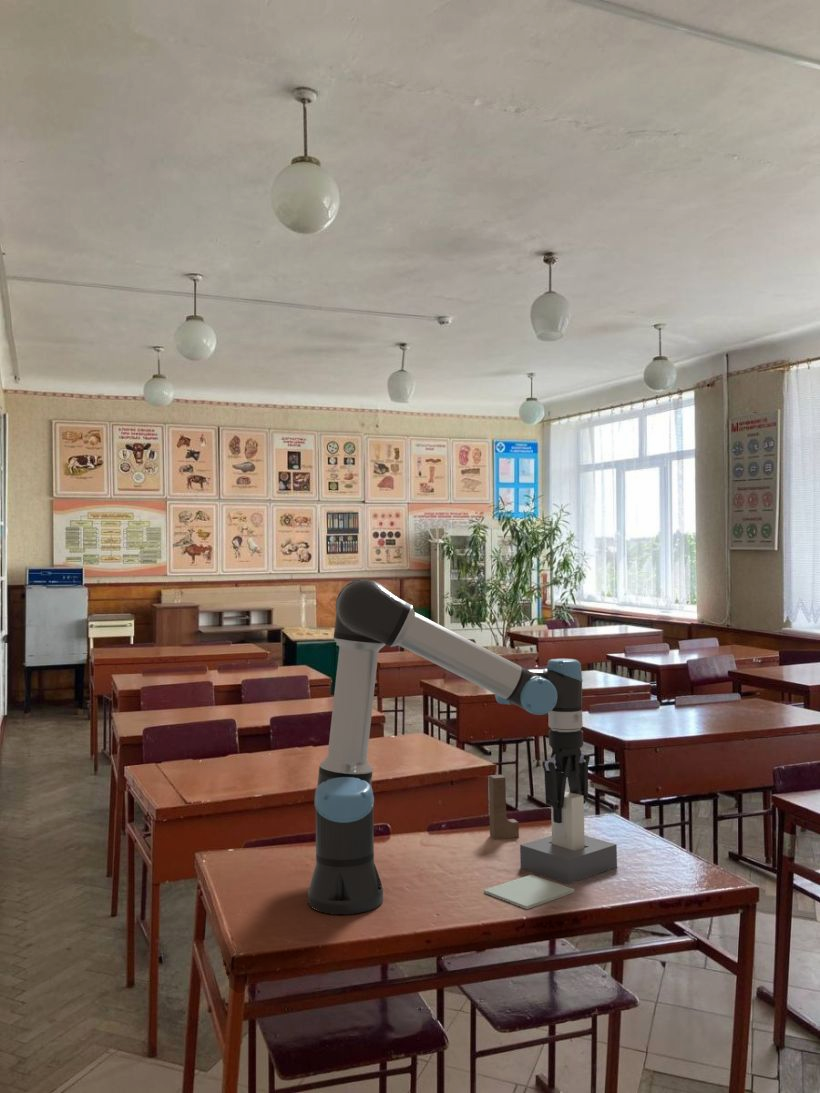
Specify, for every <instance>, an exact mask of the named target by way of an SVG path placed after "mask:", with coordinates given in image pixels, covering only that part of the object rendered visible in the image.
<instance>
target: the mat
mask: <svg viewBox="0 0 820 1093" xmlns="http://www.w3.org/2000/svg"><path fill="white" fill-rule="evenodd" d="M483 893H484V894H486V895H488V896H491V897H494V898H496V899H499V900H501V899H502V900H501V901H504V900H505V901H504V902H506V901H507V903H509V902H510V904H512V905H515V906H517V907H519V906H520V908H523V909H525V910H530V909H531V908H534V906H535V907H538V906H540V905H543V904H546V903H549V902H551V901H553V900H557V899H560V898H562V897H565V896H567V895H570V894H573V893H575V889H574V888H571V887H570V886H569V887H568V886H566V885H563V884H561V883H557V882H554V881H550V880H548V879H545V878H543V877H539V876H536V875H533V874H529V875H525V876H522V877H518V878H517V879H513V880H510V881H507V882H504V883H502V884H497V885H495V886H492V887H489V888H485V889H484V890H483Z"/></svg>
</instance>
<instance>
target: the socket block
mask: <svg viewBox="0 0 820 1093" xmlns="http://www.w3.org/2000/svg"><path fill="white" fill-rule="evenodd" d="M584 842H585V848H583V849H580V850H577V851H574V850H571V849H567V848H564V847H561V846H557V845H554V844H552V835H549V836H546V837H542V838H540V839H535V840H532V841H528V842H525V843H522V844H520V845H519V850H520V852H519V853H520V859H519V860H520V869H524V870H527V871H530V872H533V873H536V874H538V875H541V876H545V877H548V878H550V879H554V880H557V881H559V882H562V883H565V884H569V885H570V884H573V883H576V882H578V881H581V880H584V879H587V878H591V877H592V876H595V875H598V874H601V873H605V872H607V871H610V870H612V869H616V868H618V855H617V854H618V853H617V848H618V847H617V845H618V844H616V843H613V842H610V841H605V840H603V839H602V840H601V839H598V838H595V837H591V836H588V835H585V834H584Z"/></svg>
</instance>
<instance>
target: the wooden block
mask: <svg viewBox="0 0 820 1093" xmlns="http://www.w3.org/2000/svg"><path fill="white" fill-rule="evenodd" d="M506 780H507V779H506V777H505V776H504V775H502V774H493V775H491V774H490V775H488V791H489V792H488V799H489V800H488V801H489V809H488V810H489V837H491V838H492V839H494V840H503V839H511V838H519V836H520V833H519V832H520V828H519V827H520V825H519V821H517V819H514V818H508V817H507V796H506V794H507V793H506V792H507V789H506V788H507V786H506V784H507V783H506Z"/></svg>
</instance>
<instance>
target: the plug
mask: <svg viewBox="0 0 820 1093" xmlns="http://www.w3.org/2000/svg"><path fill="white" fill-rule="evenodd" d="M584 800H585V799H584V796H583V795H579V794H575V793H571V792H570V791H566V790H565V795H564V804H563V808H566V834H567V838H565V839H564V838H560V837H557V836H555V822H554V820H553V816H554V815H553V807H552V806H550V810H551V811H550V813H551V814H550V815H551V816H550V818H551V836H552V844H554V845H557V846H561V847H564V848H567V849H571V850H574V851H577V850H580V849H583V848H585V842H584V835H585V810H584V809H585V804H584Z"/></svg>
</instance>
